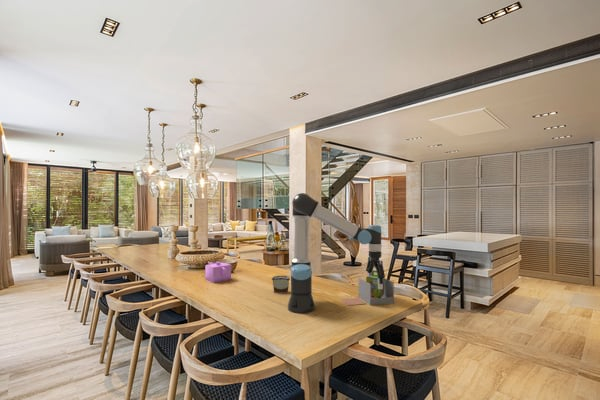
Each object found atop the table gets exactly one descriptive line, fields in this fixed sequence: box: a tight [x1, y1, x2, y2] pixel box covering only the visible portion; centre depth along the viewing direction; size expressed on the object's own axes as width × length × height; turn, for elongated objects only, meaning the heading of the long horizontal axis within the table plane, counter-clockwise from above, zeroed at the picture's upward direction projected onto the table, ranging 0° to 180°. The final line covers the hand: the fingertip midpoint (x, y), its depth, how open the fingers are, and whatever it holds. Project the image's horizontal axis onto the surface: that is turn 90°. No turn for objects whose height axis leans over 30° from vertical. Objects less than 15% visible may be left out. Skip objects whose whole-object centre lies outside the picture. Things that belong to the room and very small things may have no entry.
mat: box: [341, 297, 367, 307], centre depth 177 cm, size 11×11×1 cm
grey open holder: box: [357, 277, 395, 306], centre depth 181 cm, size 15×16×12 cm
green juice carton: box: [365, 269, 384, 298], centre depth 181 cm, size 9×9×15 cm
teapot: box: [204, 261, 232, 284], centre depth 235 cm, size 15×25×14 cm, turn 43°
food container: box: [271, 275, 291, 294], centre depth 201 cm, size 12×6×10 cm, turn 84°
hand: (375, 286), depth 181 cm, fingers closed on green juice carton, 12 cm apart
